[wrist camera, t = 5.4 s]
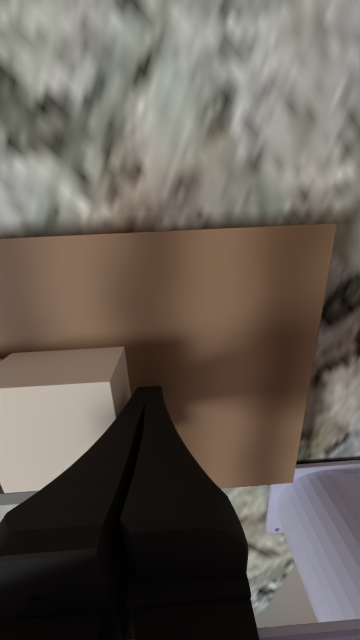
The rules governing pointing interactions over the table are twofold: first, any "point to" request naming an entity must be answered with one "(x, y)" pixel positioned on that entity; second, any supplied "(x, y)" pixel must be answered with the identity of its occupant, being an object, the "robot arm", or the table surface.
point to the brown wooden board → (187, 328)
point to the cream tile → (56, 410)
